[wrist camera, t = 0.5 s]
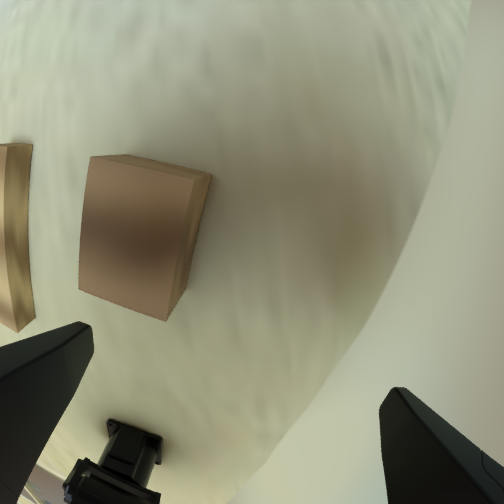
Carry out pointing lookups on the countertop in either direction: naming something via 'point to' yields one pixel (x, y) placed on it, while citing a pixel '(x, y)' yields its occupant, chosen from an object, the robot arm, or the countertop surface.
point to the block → (139, 231)
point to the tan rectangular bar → (15, 237)
